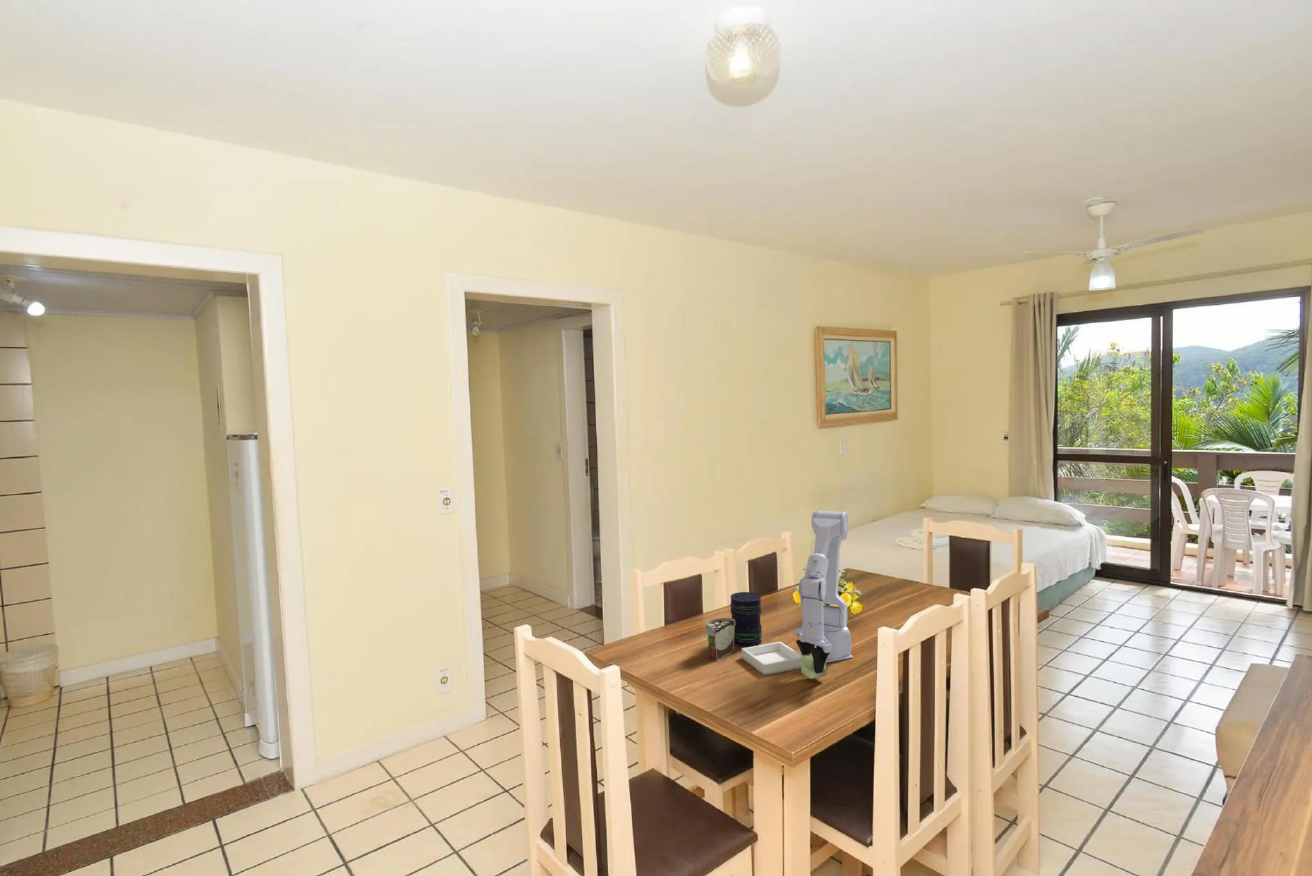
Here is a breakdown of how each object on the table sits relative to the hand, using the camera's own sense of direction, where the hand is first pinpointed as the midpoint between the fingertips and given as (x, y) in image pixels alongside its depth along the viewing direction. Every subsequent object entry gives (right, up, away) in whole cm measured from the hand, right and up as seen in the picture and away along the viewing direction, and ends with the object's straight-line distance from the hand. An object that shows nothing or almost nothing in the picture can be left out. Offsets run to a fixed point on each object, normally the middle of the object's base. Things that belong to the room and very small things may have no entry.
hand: (813, 669), depth 180 cm
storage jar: (-14, -2, +30) cm, 33 cm away
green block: (0, -2, 0) cm, 2 cm away
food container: (-25, -3, +21) cm, 32 cm away
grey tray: (-9, -3, +13) cm, 16 cm away
